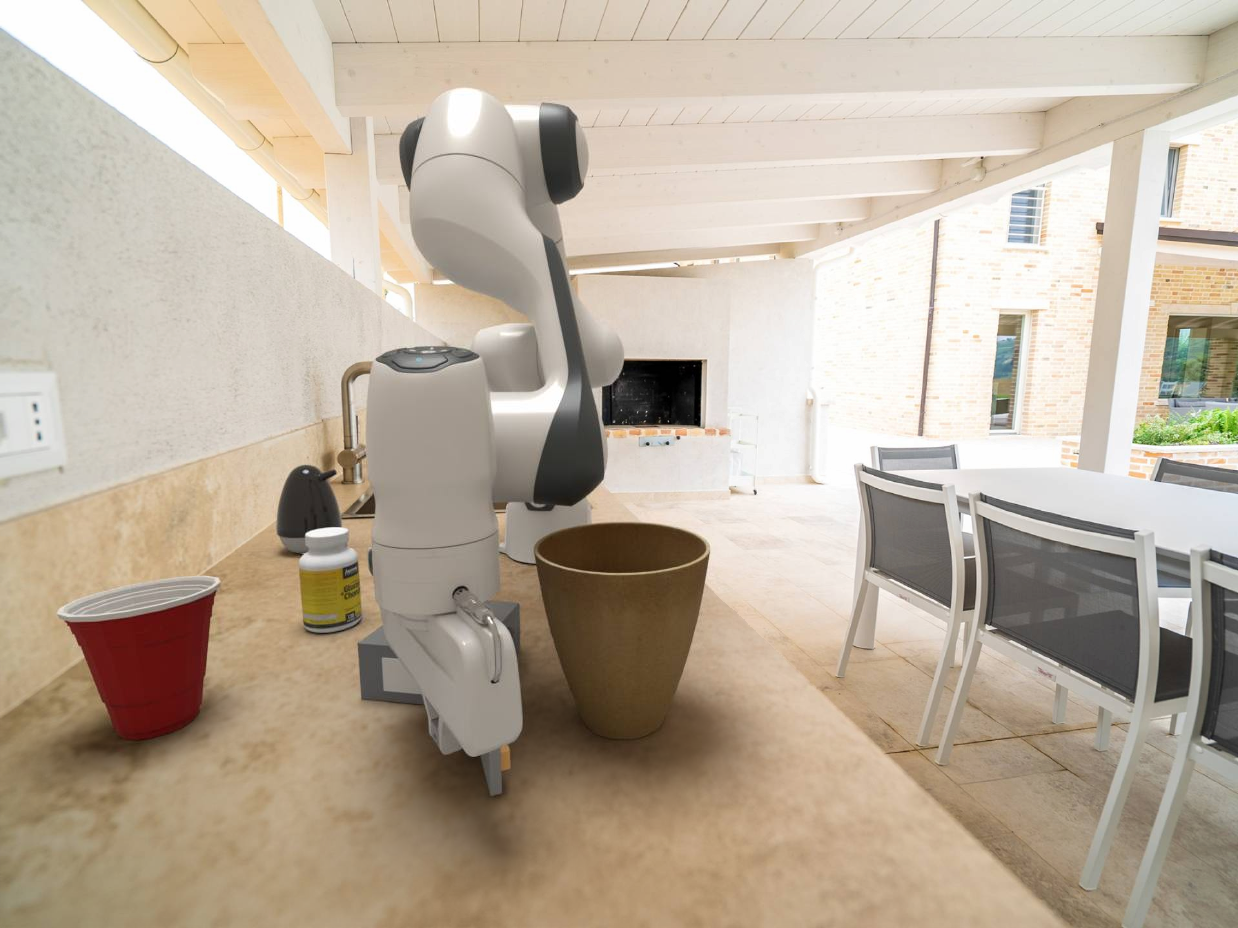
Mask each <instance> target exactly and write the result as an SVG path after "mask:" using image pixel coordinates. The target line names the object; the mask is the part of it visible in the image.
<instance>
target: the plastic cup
mask: <svg viewBox="0 0 1238 928" xmlns="http://www.w3.org/2000/svg"><path fill="white" fill-rule="evenodd" d="M220 587H221V580H220V578H219V577H216V576H211V575H210V576H209V575H194V576H193V575H191V576H189V575H188V576H178V577H171V578H161V579H156V580H150V581H144V582H139V583H133V584H128V585H124V586H120V587H116V588H112V589H107V590H104V591H100V592H97V593H94V594H89V595H87V596H84V597H81V598H77V599H75V600H73V601H71V602H69V603H66V604H65V605H63V606H60V607H59V609H58V611H57V612H56V616H57V617H58V619H59V620H63V621H64V623H66V625H67V627H69V629H70V632H71V633H72V635H74V638H75V640H76V643H77V645H78V646H79V647H80V648H81V651H82V654H83V656H84V659H85V661H86V664H87V667H88V669H89V672H90V674H91V677H92V680H93V681H94V685H95V687H96V689H97V693H98V694H99V697H100V700H101V702H102V703H103V704H104V706H105V708H106V710H107V713H108V716H109V720H110V722H111V724H112V727H113V729H114V730H115V731H116V733H117V735H118V736H119V737H120V738H122V739H124V740H132V741H138V740H139V741H140V740H146V739H152V738H156V737H159V736H160V737H161V736H163V735H166V734H169V733H172V732H174V731H176V730H179V729H180V728H183V727H185V726H186V725H187V724H189V723H190V722H192V721H193V720H195V719H196V717H197V716H198V714H199V713H200V711H201V706H202V704H203V703H202V702H203V695H204V694H203V693H204V680H205V677H206V671H207V661H208V651H209V649H208V648H209V639H210V628H211V619H212V617H213V606H214V605H215V597H216V594H217V590H218V589H219V588H220Z"/></svg>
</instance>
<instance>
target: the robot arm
mask: <svg viewBox="0 0 1238 928" xmlns="http://www.w3.org/2000/svg"><path fill="white" fill-rule="evenodd" d="M426 112H427V113H426V114H425V116H422V117H420V118H417V119H415V120H413V121H411V122H410V123H408V125H407V126H406V128H405V129H404V131H403V132H402V134H401V136H400V139H399V145H398V147H399V148H398V149H399V151H398V152H399V153H398V154H399V163H400V169H401V172H402V175H403V176H402V177H403V179H404V182H405V185H406V188H407V190H408V192H409V204H408V205H409V211H408V212H409V222H410V229H411V236H412V239H413V241H414V244H415V245H416V248H417V249H418V251H419V253H420V254H421V255H422V257H423V258H424V259H425V261H426V262H427V263H428V264H429V265H430V266H431V267H432V268H433V269H434V270H435V271H437V273H438V274H440V275H442V276H443V277H445V278H446V279H447V280H449V282H452V283H453V284H456V285H457V286H459V287H462V288H464V289H467V290H469V291H471V292H475V293H477V294H481V295H485V296H488V297H490V298H492V299H496V300H498V301H500V302H503V303H504V304H505V305H506V306H508V307H509V308H510V309H512V310H514V311H515V312H517V313H520V314H522V315H524V316H525V317H527V318H528V319H529V320H530V321H531V322H519V323H517V322H515V323H514V322H513V323H511V322H510V323H509V322H508V323H502V324H499V325H498V324H497V325H493V326H490V327H485V328H481V329H479V330H478V331H477V333H476V334H475V336H474V337H473V338H472V340H471V343H470V347H469V349H467V348H462V347H456V346H444V345H433V346H432V345H424V346H414V347H401V348H400V347H399V348H396V349H392V350H389V351H385V352H384V353H382V354H380V355H379V356H377V357H376V358H374V359H373V361H372V363H371V368H370V371H369V379H368V386H367V394H366V395H367V398H366V411H365V459H366V475H367V479H368V482H369V485H370V488H371V490H372V492H373V493H372V494H373V497H374V504H375V511H374V519H373V522H372V526H371V529H370V530H371V532H370V533H371V534H370V537H371V546H369V547H368V548H367V552H366V556H367V557H366V558H367V568H368V570H369V572H370V574H371V575H372V577H373V586H374V600H375V602H376V605H378V606H379V610H380V617H381V622H382V625H383V629H384V633H385V636H386V639H387V642H388V644H389V647H390V648H391V649H392V650H393V652H394V653H395V655H396V656H397V657H398V659H399V660H400V662H401V663H402V664H403V666H404V667H405V668H406V670H407V671H408V673H409V674H410V675H411V677H412V678H413V680H414V681H415V682H416V684H417V685H418V687H419V688H420V689H421V693H422V697H423V700H424V704H425V705H424V707H425V710H426V715H427V719H428V722H427V723H428V734H429V736H431V738H432V739H433V741H434V742H435V744H436V745H437V747H438V749H439V750H440V752H441V753H442V755H444V756H446V755H447V756H448V755H450V754H452V753H455V752H458V751H460V750H462V749H463V751H464V752H465V754H467V756H469V757H472V758H473V757H474V758H475V757H479V756H480V755H483V754H485V753H488V752H491V751H493V750H496V749H498V748H501V747H503V746H505V745H508V746H509V745H510V744H512V743H514V742H515V741H516V740H517V739H518V738H519V737H520V734H521V732H522V730H523V724H524V717H523V704H522V694H521V693H522V691H521V681H520V672H519V671H520V670H519V663H518V658H517V656H518V654H517V655H516V650H515V646H514V642H513V639H512V636H511V634H510V632H509V630H508V629H507V628H506V626H505V625H504V624H503V623H501V622H500V621H499V620H498V619H497V618H495V617H494V612H493V610H492V609H491V608H490V607H489V606H488V605H487V604H485V603H484V602H486V601H488V600H489V601H490V600H491V599H492V598H494V597H495V596H496V595H497V594H498V593H499V591H500V588H501V565H500V558H501V557H500V553H503V554H506V555H507V556H508V557H509V558H510V559H512V560H514V561H517V562H521V563H526V564H527V563H528V564H535V565H536V561H535V555H534V546H535V544H536V543H537V542H538V541H539V540H540V539H541V538H543V537H544V536H546V535H548V534H550V533H553V532H556V531H559V530H562V529H566V528H570V527H574V526H579V525H585V524H593V522H592V506H591V504H590V502H589V500H588V499H587V497H589V495H590V494H592V493H593V492H594V491H595V489H597V488H598V486H599V485H600V484H601V483H602V482H603V481H604V480H605V473H606V469H607V466H608V465H607V464H608V457H609V456H608V455H609V452H608V451H609V450H608V449H609V448H608V439H607V433H606V430H605V429H606V428H605V426H604V421H603V419H602V416H601V414H600V412H599V409H598V407H597V404H596V400H595V397H594V393H593V389H597V388H602V387H607V386H611V385H612V384H614V383H615V381H616V380H617V379H618V377H619V376H620V374H621V372H622V370H623V367H624V362H625V350H624V345H623V343H622V342H623V341H622V340H621V337H620V336H619V334H618V333H617V332H616V331H615V329H614V328H612V327H611V326H609V325H607V324H605V322H603V321H601V320H600V319H598V318H597V317H596V316H595V315H594V314H592V312H590V310H589V309H588V308H587V307H586V306H585V304H584V303H583V302H582V300H581V298H580V297H579V295H578V294H577V292H576V289H575V287H574V284H573V282H572V279H571V274H570V270H569V266H568V261H567V260H568V259H567V257H566V256H567V255H566V249H565V242H564V238H563V237H564V236H563V230H562V225H561V218H560V214H559V209H558V205H559V206H560V205H561V204H562V205H563V204H564V203H565V202H568V201H571V200H572V199H575V198H577V196H578V195H579V193H580V192H581V191H582V189H584V187H585V180H586V177H587V173H588V168H589V157H590V156H589V147H588V146H589V145H588V142H587V138H586V136H585V132H584V130H583V128H582V126H581V124H580V123H579V118H578V116H577V115H576V114H575V112H573V110H572V109H571V108H570V107H569V106H566V105H564V104H559V103H554V102H553V103H552V102H541V104H540V105H537V104H536V105H535V104H519V103H518V104H509V103H508V104H507V103H506V104H503V103H502V102H501V101H500V100H498V99H497V98H496V97H494V96H493V95H492V94H491V93H488V92H486V91H483V90H481V89H478V88H475V87H474V88H473V87H466V86H465V87H463V86H462V87H456V88H452V89H449V90H447V91H445V92H443V93H441V94H440V95H439V96H438V97H436V98H435V99H434V100H433V102H432V103H431V105H430V106H429V108H428V110H427V111H426ZM494 503H497V504H499V503H507V504H506V505H505V506H506V507H505V522H504V524H505V525H504V526H505V528H504V541H502V542H500V535H499V534H500V533H499V531H500V530H499V521H498V517H497V514H496V511H495V507H494Z"/></svg>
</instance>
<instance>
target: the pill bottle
mask: <svg viewBox="0 0 1238 928" xmlns="http://www.w3.org/2000/svg"><path fill="white" fill-rule="evenodd" d="M349 541H350V533H349V529H348V528H345V527H342V528H341V527H330V528H321V529H316V530H312V531H309V532H307V533H306V534H305V543H306V546H307V547H309V551H308V552H307V553H305V554H302V556H301V557H300V559H299V562H298V573H299V585H300V599H301V609H302V621H303V622H302V623H303V627H304V628H305V629H306V630H308V631H309V632H313V633H318V634H319V633H320V634H323V633H324V634H326V633H334V632H339V631H343V630H346V629H348V628H351V627H354V625H356V624H357V623H358V622H360V620H361V618H362V615H363V614H362V612H363V611H362V598H361V597H362V596H361V583H360V568H359V566H360V565H359V555H358V553H357V551H356V550H355V549H354V548H352V547H349V546H348V543H349Z"/></svg>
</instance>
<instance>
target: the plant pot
mask: <svg viewBox="0 0 1238 928" xmlns="http://www.w3.org/2000/svg"><path fill="white" fill-rule="evenodd" d="M534 555H535V561H536V564H535V565H536V571H537V576H538V577H537V578H538V582H539V587H540V593H541V596H542V603H543V607H544V611H545V615H546V619H547V624H548V628H549V631H550V635H551V638H552V641H553V644H554V648H555V651H556V655H557V657H558V660H559V663H560V666H561V671H562V673H563V675H564V678H565V681H566V683H567V686H568V688H569V691H570V693H571V696H572V698H573V700H574V704H575V705H576V708H577V710H578V712H579V714H580V717H581V719H582V721H583V724H584V725H585V726H586V727H587V728H588V730H590V731H592V732H593V733H594V734H596V735H598V736H601V737H604V738H608V739H613V740H634V739H640V738H642V737H645V736H648V735H650V734H652V733H654V732H655V731H656V730H658V729H659V728H660V727H661V726H662V724H663V723H664V721H665V718H666V716H667V714H668V712H669V709H670V707H671V704H672V702H673V700H674V697H675V695H676V693H677V689H678V686H679V684H680V680H681V678H682V676H683V672H684V669H685V666H686V663H687V660H688V657H689V654H690V651H691V646H692V644H693V640H694V636H695V631H696V627H697V623H698V618H699V615H700V609H701V607H702V606H701V604H702V602H703V601H702V600H703V595H704V589H705V584H706V578H707V573H708V566H709V560H710V555H711V545H710V543H709V542H708V540H707V539H705V538H704V537H702V536H701V535H700V534H698V533H696V532H695V531H691V530H689V529H685V528H683V527H679V526H674V525H670V524H661V523H656V522H655V523H654V522H642V521H606V522H595V523H593V522H592V524H585V525H579V526H574V527H570V528H566V529H562V530H559V531H556V532H553V533H550V534H548V535H546V536H544V537H543V538H541V539H540V540H539V541H538V542H537V543H536V544H535V546H534Z"/></svg>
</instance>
